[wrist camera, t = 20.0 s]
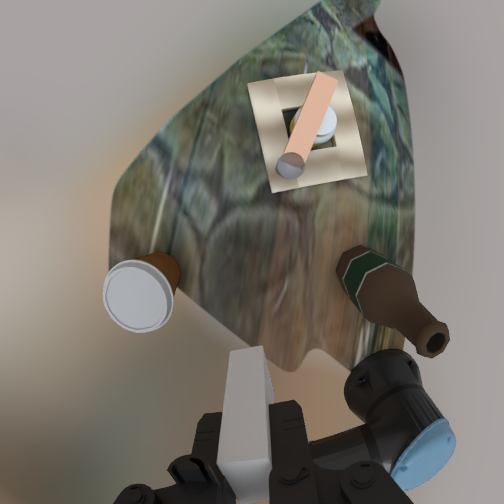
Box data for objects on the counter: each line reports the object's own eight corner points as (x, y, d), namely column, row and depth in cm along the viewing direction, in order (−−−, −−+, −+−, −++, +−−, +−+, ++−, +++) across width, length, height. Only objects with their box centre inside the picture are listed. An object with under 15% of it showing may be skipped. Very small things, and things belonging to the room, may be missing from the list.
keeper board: (362, 175, 43) (392, 175, 33) (271, 192, 44) (277, 196, 33) (339, 74, 39) (361, 49, 29) (247, 87, 40) (245, 62, 30)
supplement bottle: (311, 106, 41) (326, 89, 31) (332, 137, 42) (351, 127, 32) (281, 124, 41) (288, 110, 32) (301, 155, 42) (314, 149, 33)
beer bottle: (335, 245, 45) (407, 309, 22) (381, 243, 45) (476, 298, 22) (333, 293, 47) (392, 386, 24) (378, 290, 47) (458, 370, 24)
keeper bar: (296, 183, 33) (298, 183, 31) (272, 173, 33) (273, 172, 31) (336, 85, 30) (340, 81, 28) (313, 75, 30) (316, 70, 28)
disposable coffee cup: (165, 229, 45) (137, 247, 33) (202, 280, 47) (187, 313, 35) (121, 263, 46) (86, 288, 35) (156, 310, 48) (131, 347, 36)
